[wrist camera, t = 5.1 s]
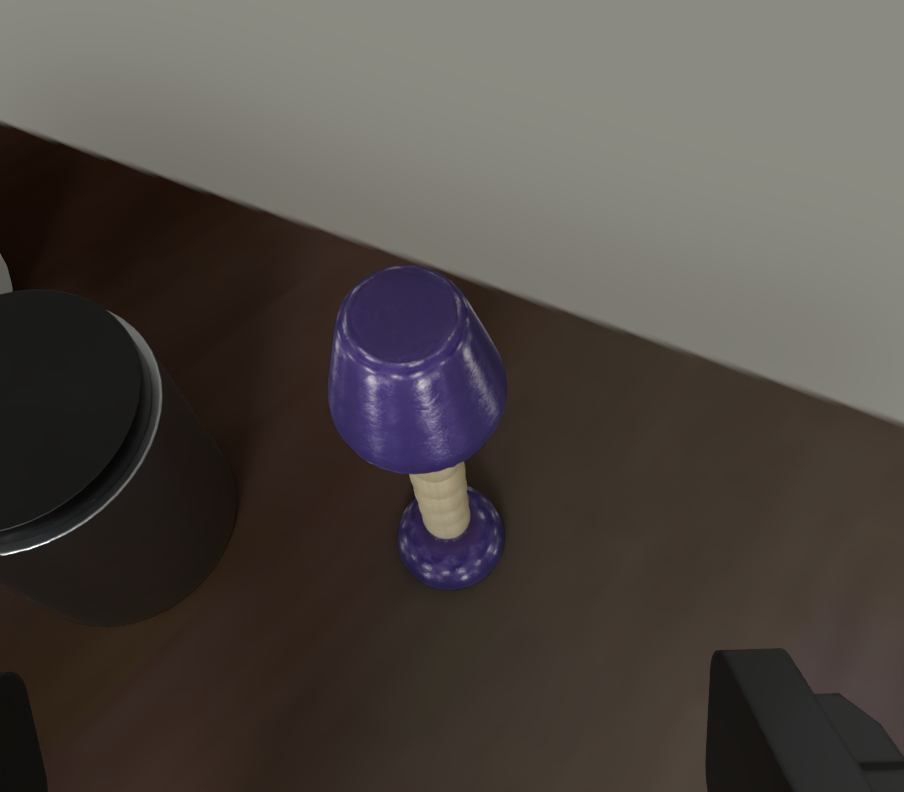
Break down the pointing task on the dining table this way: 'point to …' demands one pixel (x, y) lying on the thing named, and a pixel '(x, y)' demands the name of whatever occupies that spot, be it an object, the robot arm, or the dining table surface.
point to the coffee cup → (4, 278)
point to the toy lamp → (422, 412)
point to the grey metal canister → (101, 467)
